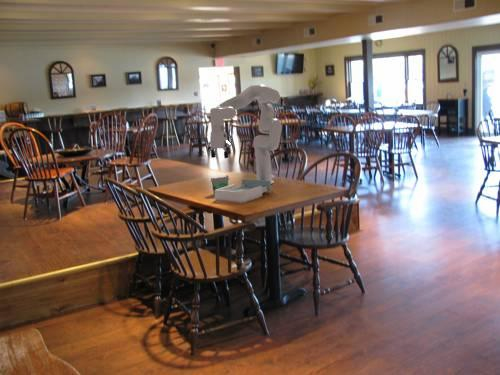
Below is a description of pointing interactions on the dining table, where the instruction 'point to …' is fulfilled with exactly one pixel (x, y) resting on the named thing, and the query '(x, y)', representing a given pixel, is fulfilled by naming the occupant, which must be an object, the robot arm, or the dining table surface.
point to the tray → (252, 185)
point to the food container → (219, 182)
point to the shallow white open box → (237, 194)
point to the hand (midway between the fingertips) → (219, 157)
